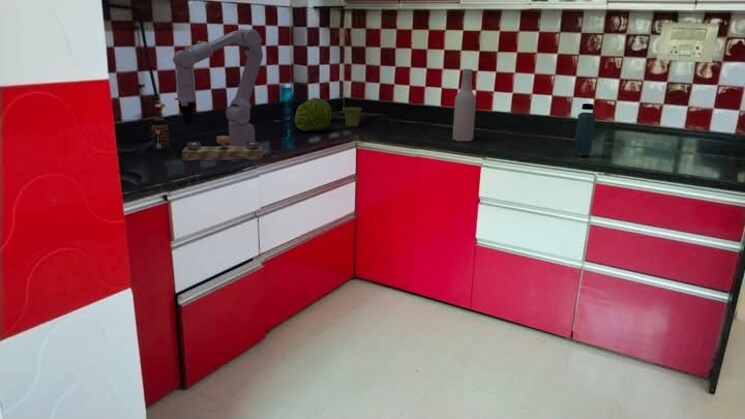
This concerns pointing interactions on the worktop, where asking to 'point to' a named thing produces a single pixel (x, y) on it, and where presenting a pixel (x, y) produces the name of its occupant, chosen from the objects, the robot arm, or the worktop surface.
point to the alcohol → (464, 109)
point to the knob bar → (222, 153)
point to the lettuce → (313, 115)
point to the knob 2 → (252, 145)
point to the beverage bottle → (584, 130)
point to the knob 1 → (194, 145)
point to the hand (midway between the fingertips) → (188, 123)
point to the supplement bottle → (160, 135)
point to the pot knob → (223, 140)
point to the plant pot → (352, 116)
